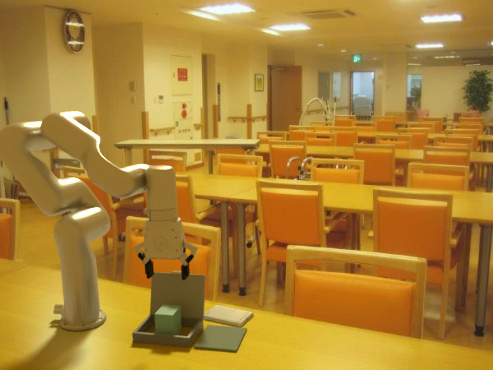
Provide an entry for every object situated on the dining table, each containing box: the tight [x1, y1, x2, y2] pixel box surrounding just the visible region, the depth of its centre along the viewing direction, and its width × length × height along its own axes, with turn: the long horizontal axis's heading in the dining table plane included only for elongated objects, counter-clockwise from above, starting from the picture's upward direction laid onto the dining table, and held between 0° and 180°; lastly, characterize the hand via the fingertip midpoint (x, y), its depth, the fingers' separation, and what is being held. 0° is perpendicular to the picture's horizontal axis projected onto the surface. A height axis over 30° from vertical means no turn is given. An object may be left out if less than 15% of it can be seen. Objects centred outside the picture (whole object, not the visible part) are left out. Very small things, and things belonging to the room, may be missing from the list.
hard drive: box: [203, 304, 255, 328], centre depth 146 cm, size 2×8×12 cm
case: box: [131, 313, 204, 348], centre depth 136 cm, size 16×12×2 cm
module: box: [154, 304, 183, 335], centre depth 136 cm, size 5×6×7 cm
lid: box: [149, 270, 207, 318], centre depth 142 cm, size 16×12×2 cm
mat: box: [193, 324, 248, 353], centre depth 133 cm, size 11×12×1 cm
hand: (167, 277), depth 133 cm, fingers open, 9 cm apart
